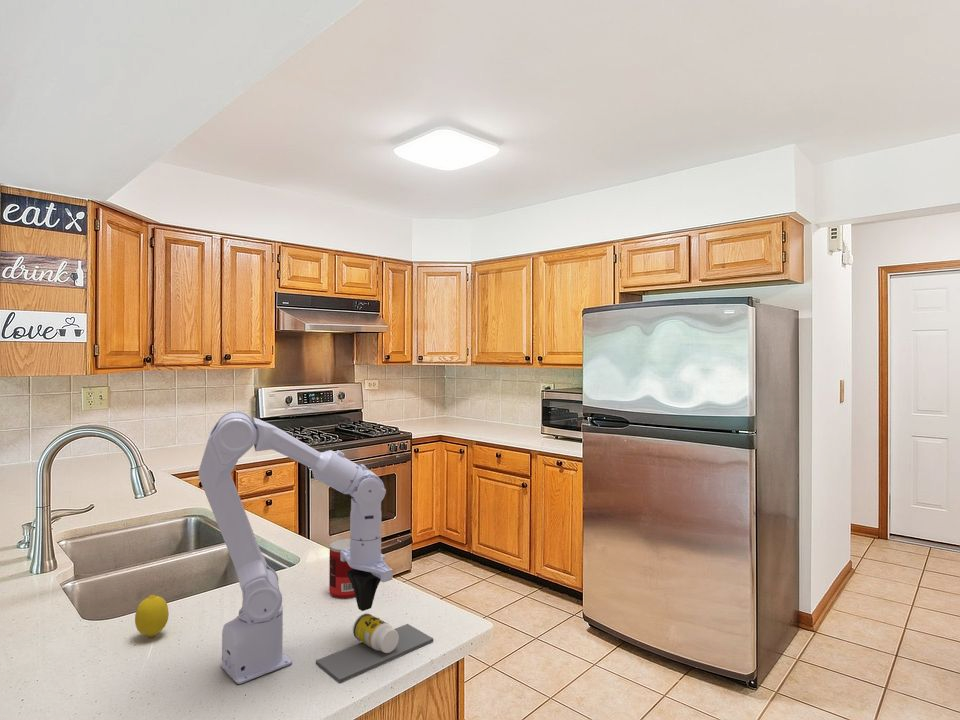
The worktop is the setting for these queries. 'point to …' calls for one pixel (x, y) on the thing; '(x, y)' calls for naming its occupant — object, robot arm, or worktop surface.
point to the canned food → (339, 571)
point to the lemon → (151, 615)
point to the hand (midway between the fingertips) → (364, 608)
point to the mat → (370, 655)
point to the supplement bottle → (375, 633)
